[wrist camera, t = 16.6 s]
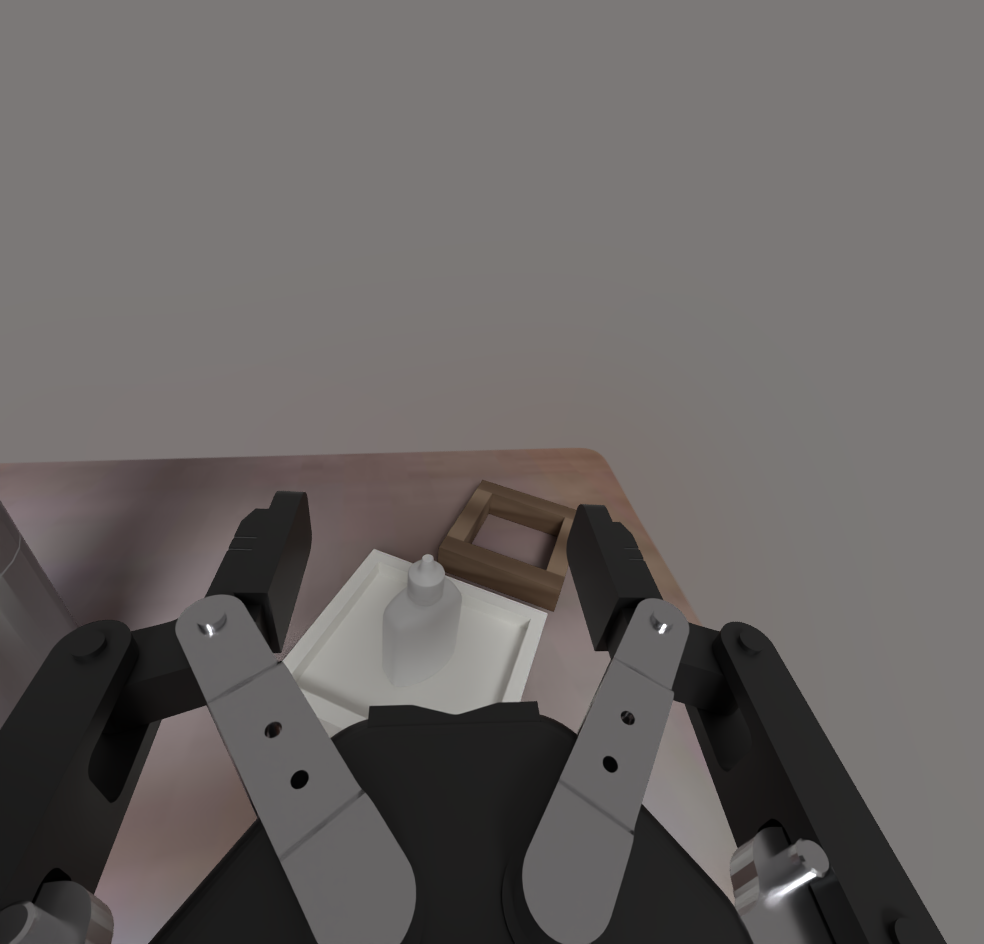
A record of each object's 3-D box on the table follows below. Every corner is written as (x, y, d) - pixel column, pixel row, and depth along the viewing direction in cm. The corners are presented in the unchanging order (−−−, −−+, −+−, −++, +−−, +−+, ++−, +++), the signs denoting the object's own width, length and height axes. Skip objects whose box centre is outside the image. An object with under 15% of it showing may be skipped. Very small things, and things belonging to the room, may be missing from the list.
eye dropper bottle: (383, 638, 39) (383, 534, 31) (452, 634, 40) (467, 533, 32) (381, 690, 35) (381, 587, 28) (457, 685, 36) (475, 584, 29)
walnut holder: (553, 611, 44) (560, 590, 43) (436, 568, 47) (439, 547, 45) (577, 532, 54) (584, 512, 52) (479, 499, 56) (482, 479, 54)
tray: (485, 812, 31) (490, 796, 29) (264, 708, 34) (258, 690, 33) (542, 630, 42) (547, 613, 41) (374, 567, 46) (373, 548, 44)
